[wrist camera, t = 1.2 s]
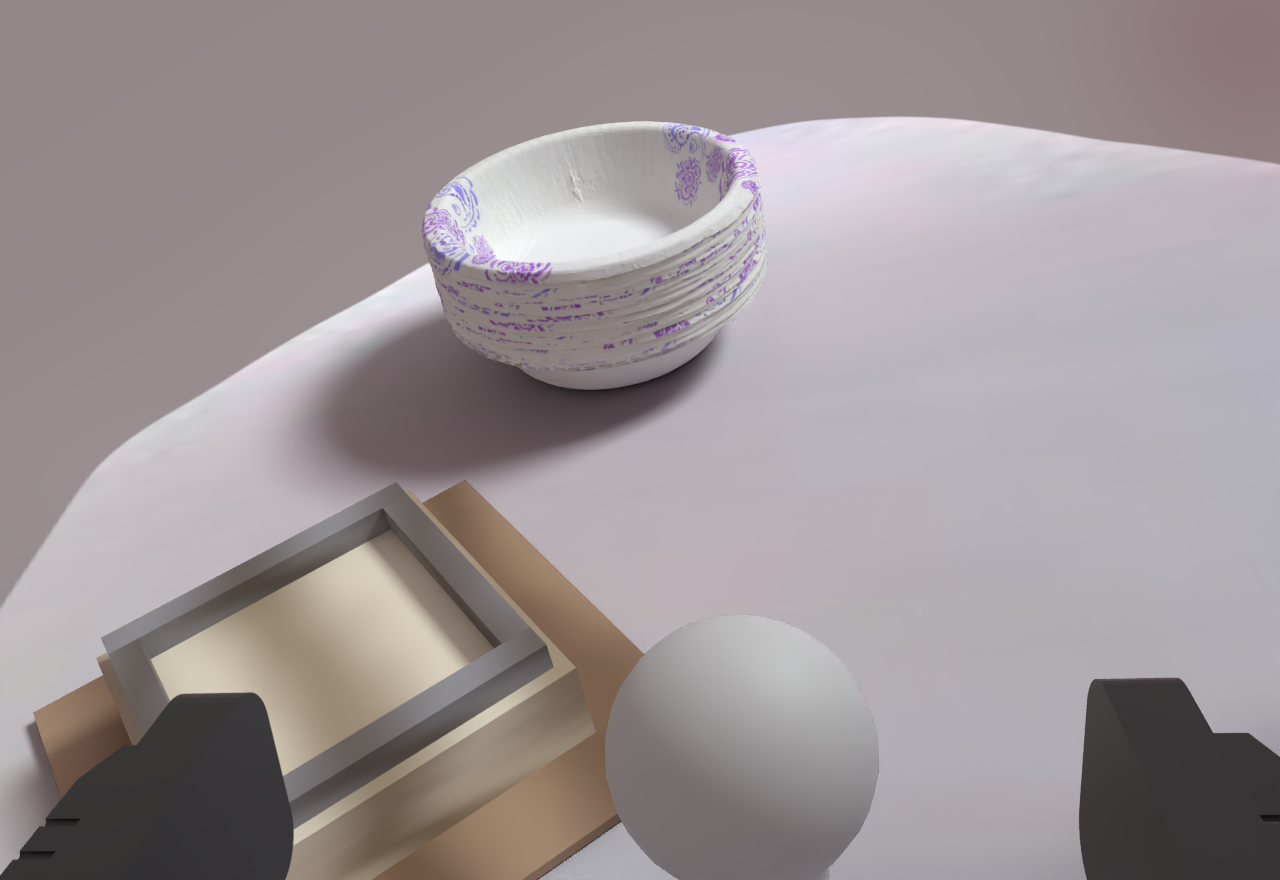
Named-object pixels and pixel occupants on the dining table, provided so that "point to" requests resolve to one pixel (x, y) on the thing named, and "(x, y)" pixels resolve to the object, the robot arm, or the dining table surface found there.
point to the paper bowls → (599, 250)
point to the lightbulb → (741, 752)
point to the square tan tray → (389, 690)
